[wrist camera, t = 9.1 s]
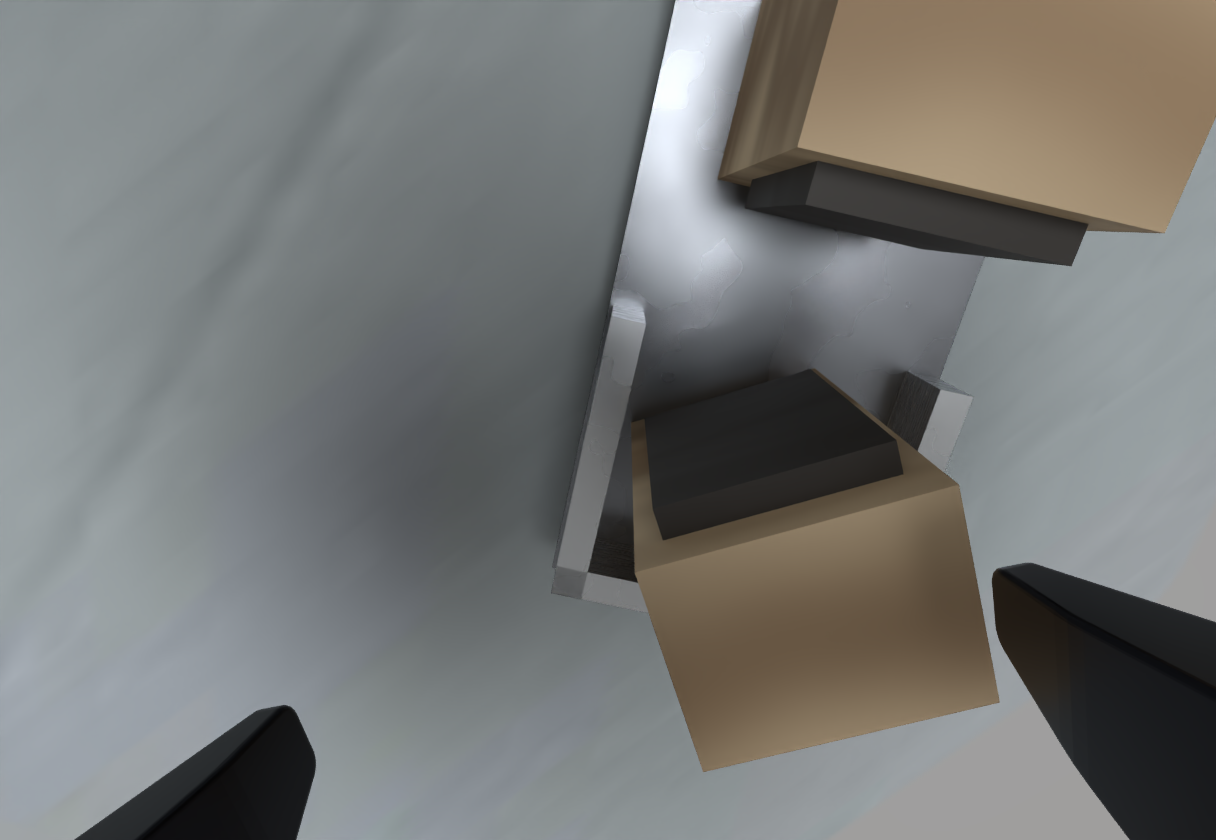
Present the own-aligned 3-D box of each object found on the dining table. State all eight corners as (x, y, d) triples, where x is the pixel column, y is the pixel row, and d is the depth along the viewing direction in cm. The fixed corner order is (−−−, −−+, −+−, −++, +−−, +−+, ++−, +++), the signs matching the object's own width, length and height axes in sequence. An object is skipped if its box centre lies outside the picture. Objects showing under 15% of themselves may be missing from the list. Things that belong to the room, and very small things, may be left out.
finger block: (624, 402, 18) (622, 539, 10) (809, 346, 18) (951, 447, 10) (672, 551, 19) (703, 772, 12) (847, 503, 19) (1000, 702, 11)
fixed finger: (763, -5, 15) (902, -229, 8) (975, 46, 15) (1319, -121, 8) (711, 204, 17) (783, 194, 9) (907, 249, 17) (1144, 279, 9)
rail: (710, -159, 16) (732, -260, 12) (1071, -68, 16) (1189, -143, 13) (557, 543, 21) (544, 605, 18) (831, 600, 21) (870, 672, 18)
